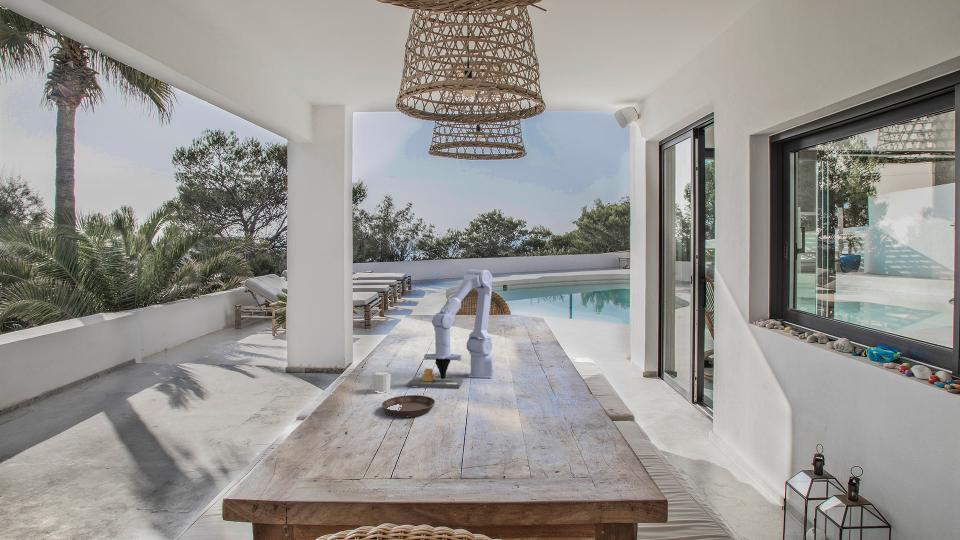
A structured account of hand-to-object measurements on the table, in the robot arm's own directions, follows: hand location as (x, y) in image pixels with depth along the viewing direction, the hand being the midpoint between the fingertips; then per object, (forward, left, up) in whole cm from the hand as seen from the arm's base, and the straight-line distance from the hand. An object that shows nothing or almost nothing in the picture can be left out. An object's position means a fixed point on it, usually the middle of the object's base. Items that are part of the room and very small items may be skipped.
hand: (443, 378), depth 229 cm
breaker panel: (+3, 0, -2) cm, 4 cm away
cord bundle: (+4, -9, -2) cm, 10 cm away
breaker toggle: (+6, 0, -1) cm, 6 cm away
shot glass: (+21, +12, -3) cm, 24 cm away
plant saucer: (+5, +34, -3) cm, 35 cm away
